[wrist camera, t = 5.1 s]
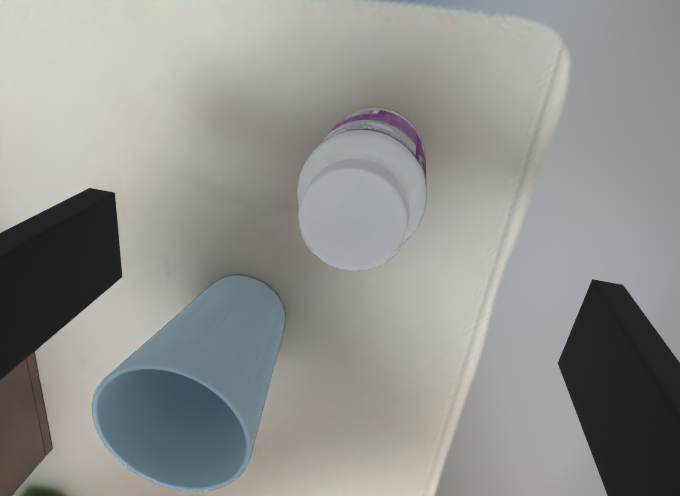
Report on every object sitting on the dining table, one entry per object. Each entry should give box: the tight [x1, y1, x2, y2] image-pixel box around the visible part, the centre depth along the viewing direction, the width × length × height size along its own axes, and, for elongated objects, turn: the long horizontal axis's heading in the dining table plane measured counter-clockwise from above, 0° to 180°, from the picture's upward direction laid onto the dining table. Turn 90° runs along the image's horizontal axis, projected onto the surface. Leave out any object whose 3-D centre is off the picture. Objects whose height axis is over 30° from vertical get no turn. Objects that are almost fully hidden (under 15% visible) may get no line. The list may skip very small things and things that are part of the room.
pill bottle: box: [297, 108, 427, 271], centre depth 22 cm, size 5×5×10 cm
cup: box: [92, 275, 285, 492], centre depth 27 cm, size 8×8×10 cm
